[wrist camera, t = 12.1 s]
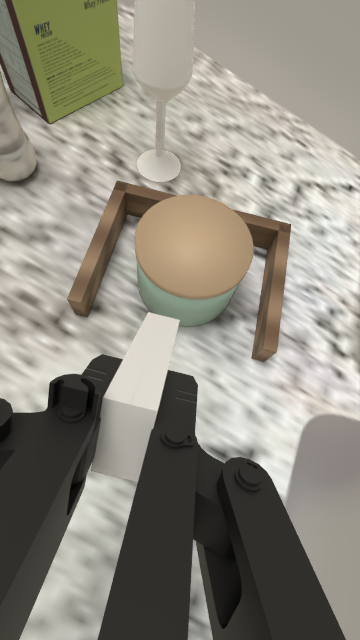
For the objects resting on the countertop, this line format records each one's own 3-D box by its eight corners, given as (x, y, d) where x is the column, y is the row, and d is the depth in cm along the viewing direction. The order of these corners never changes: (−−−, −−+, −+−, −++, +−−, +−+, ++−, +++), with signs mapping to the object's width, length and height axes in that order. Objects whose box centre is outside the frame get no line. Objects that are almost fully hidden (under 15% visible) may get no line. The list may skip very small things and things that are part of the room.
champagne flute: (140, 183, 45) (132, -68, 23) (133, 150, 48) (120, -107, 26) (185, 180, 46) (218, -64, 24) (176, 147, 49) (199, -102, 27)
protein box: (124, 86, 53) (115, -47, 39) (49, 125, 48) (7, -11, 34) (84, 55, 55) (62, -81, 41) (8, 90, 50) (-48, -53, 36)
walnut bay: (263, 361, 37) (276, 351, 33) (75, 313, 37) (67, 299, 33) (279, 243, 44) (291, 224, 40) (119, 203, 44) (117, 180, 40)
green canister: (177, 347, 37) (185, 318, 28) (118, 273, 40) (110, 228, 31) (251, 292, 40) (277, 254, 32) (192, 229, 43) (202, 178, 35)
